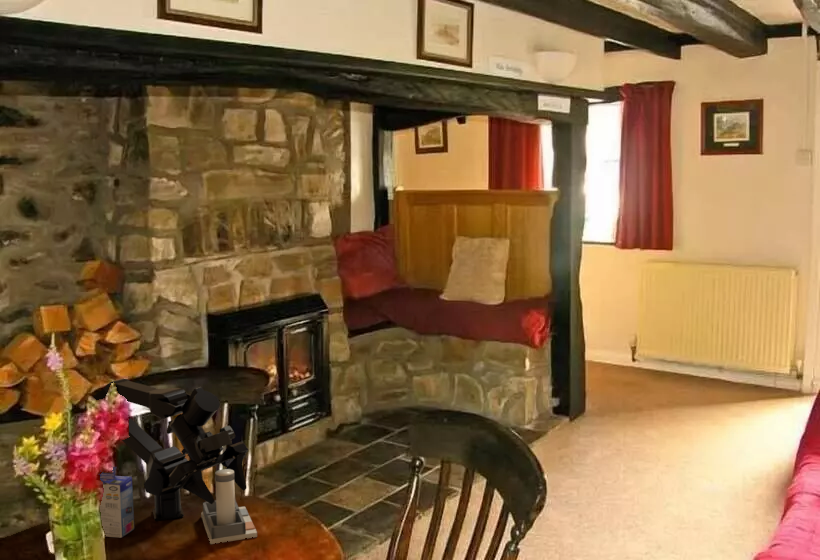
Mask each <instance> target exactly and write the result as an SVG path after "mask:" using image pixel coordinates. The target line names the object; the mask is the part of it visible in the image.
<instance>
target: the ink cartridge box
mask: <svg viewBox="0 0 820 560" xmlns="http://www.w3.org/2000/svg"><path fill="white" fill-rule="evenodd" d="M112 467H113V470H112V471H111V472H112V473H107V472H106V473H105V472H104V471H103V472H102V473H101V474H100V473H99V475H100V480H101V481H102V482H103V488H104V493H103V497H102V501H101V505H100V512H101V520H102V526H103V529H104V531H105V535H106V536H105V537H109V538H120V539H121V538H123V537H125V536H126V535H129V533H131V532H132V531H134V530H135V514H134V494H133V478H132V476H126V475H125V476H123V475H122V476H121V475H117V469H118V468H117V466H112Z"/></svg>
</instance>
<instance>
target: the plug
mask: <svg viewBox="0 0 820 560" xmlns="http://www.w3.org/2000/svg"><path fill="white" fill-rule="evenodd" d="M214 480H215V481H214V482H215V501H216V513H217V526H221V525H227V524H234V523H236V521H235V501H236V494H235V493H236V492H235V491H236V490H235V482H234V471H233V470H231V469H226V468H224V469H219V470H216V471H215V472H214Z"/></svg>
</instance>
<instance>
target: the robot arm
mask: <svg viewBox="0 0 820 560" xmlns="http://www.w3.org/2000/svg"><path fill="white" fill-rule="evenodd" d="M113 382H114V383H116V387H117V391H118V393H119V394H120V395H122V396H124V397H125V398H126V399H127V401H128V402H127V403H132V404H135V405H139V406H142V407H145V408H147V409H149V412H150V413H151V414H152V415H154V416H155V417H156V418H159V419H162V420H165V419H167V418H168V419H169V418H171V417H174V416H175V417H174V419H173V420H169V421H168V422H167V427H166V434H167V435H169V434H172V433H174V435H175V436H176V438H177V439H178V442H179V443H180V445H181V446H182V448H183V449H181V451H180V449H179V448H178V447H176V446H170V447H167V448H163V447H162V446H161V445H160V444H159V443H158V442H157V441H156V440H155V439H154V438H152V436H150V435H149V434H148V433H147V432H146V431H145V430H144V429H143V428H142V427H140V425H139V424H138V423H137V422H135V421H134V419H132V418H131V417H130V419H129V436H130V437H129V438H127V439H125V440H121V441H122V442H123V443H124V444H125V445H126V446H127V447H128V448H130V450H131V451H132V452H133V453H135V454H136V455H137V456H138V457H139V458H140V459H141V460H142V461H143V462H144V464H146V466H147V472H148V477H147V479H146V480H145V481H144V482H143V485H144V490H145V492H146V493H147V494H150V495H153V496H154V508H152V514H153V519H154V522H155V521H156V522H158V521H164V520H170V519H171V520H172V519H178V518H184V517H185V512H184V510H183V507H182V505H181V490H186V491H188V492H189V493H191V494H194V495H195V496H197V497H198V498H200V499H202V500H204V502H208V503H210V504H213V503H214V502H215V501H216V499H215V498H214V496H213V495H212V492H211V490H210V489H209V488H208V485H207V484H206V483H205V481H204V479H203V473H202V472H203V471H205V470H208V469H210V468H213V467H215V466H218V465H222V466H223V467H224V468H225V469H231V470H233V471H234V484H236V485H237V486H238V487H239V488H240V489H241V490H242V491H245V490H246V489H247V488H248V487H247V483H246V478H245V474H244V473H245V472H244V469H243V468H244V467H243V462H244V459H245V457H246V456H247V455H246V454H247V452H249V448H248V447H247V445H246V443H245V442H242V441H239V442H236V443H234V444H233V443H232V442H233V441H232V440H234V439H235V438H236V434H235V431H234V430H233V428H232V427H231V426H230V425H227V426H226V425H225V426H223V427H222V428H221V427H220V429H219V432H218V433H214V434H213V433H212V432H211V431H207V432H206V431H205V429H204V428H203V426H205V425H207V423H208V422H209V421H210V420H211V418H212V417H213V416H214V415H215V413H216V412H217V411H218V410H219V408H220V400H219V397H217V395H215V394H214V393H212V392H210V391H207V390H204V389H203V387H202V386H199V387H196V388H194V389H193V390H192V391H191V394H190V393H188V392H187V391H186V390H185V389H184V388H181V387H168V388H157V387H153V386H148V385H146V384H142V383H138V382H134V381H131V380H130V379H128V378H120V379H117V380H116V379H115V380H112V381H110V382H109V383H107V384H106V385H105V387H103V388H102V389H101V390H100V391H99V392H97V393H96V394H95V395H93V396H92V397H94V398H95V399H96V400H99V399H103V398H105V396H106V394H107V392H108V389H109V387H110V385H111V383H113ZM85 410H86V405H85V407H84V411H85ZM225 446H228V447H226V449H225V450H224V447H225ZM223 450H224V451H223ZM222 451H223V453H221V452H222ZM220 453H221V454H220ZM186 455H187V456H188V457H189V460H188V459H187V456H186Z"/></svg>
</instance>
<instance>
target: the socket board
mask: <svg viewBox="0 0 820 560" xmlns="http://www.w3.org/2000/svg"><path fill="white" fill-rule="evenodd" d="M200 516H201V520H202V522H203V523H202V524H203V527H204V530H205V532H206V535H207V539H208V538H209V539H208V541H210V542H209V545H214V544H215V543H216V544H219V543H220V542H222V543H228V542H233V541H239V540H245V538H247V539H253V538H257V537H258V531H257V529H256V526H255V525H254V523H253V520H252V518H251V516H250V515H249V512H248V510H247V508H246V506H239V505H238V502H237V500H235V521H236V523H234V524H227V525H221V526H217V513H216V500H215V502H214V503H213V504H210V503H208V502H207V501H203V502H202V512H201V515H200ZM252 537H253V538H252ZM227 541H228V542H227ZM220 544H221V543H220Z"/></svg>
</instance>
